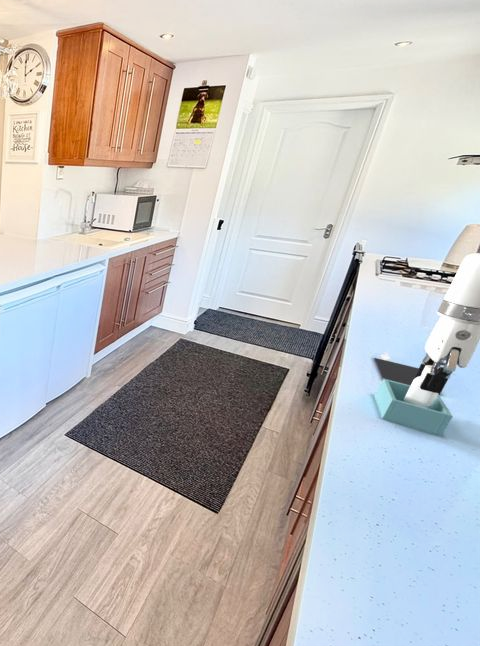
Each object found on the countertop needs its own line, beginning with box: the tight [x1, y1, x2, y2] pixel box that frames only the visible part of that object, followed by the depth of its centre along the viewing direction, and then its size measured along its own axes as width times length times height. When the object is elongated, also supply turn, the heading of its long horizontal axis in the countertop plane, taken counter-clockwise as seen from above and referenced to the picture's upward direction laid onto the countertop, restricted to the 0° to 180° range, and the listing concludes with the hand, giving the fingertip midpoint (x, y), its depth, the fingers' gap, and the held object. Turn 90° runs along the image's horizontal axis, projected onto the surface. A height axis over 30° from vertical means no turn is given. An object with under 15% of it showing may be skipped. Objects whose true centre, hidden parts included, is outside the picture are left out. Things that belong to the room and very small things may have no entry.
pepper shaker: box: [404, 365, 439, 408], centre depth 92 cm, size 4×4×10 cm
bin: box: [373, 379, 453, 437], centre depth 95 cm, size 10×13×5 cm
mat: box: [373, 357, 441, 396], centre depth 115 cm, size 11×17×1 cm, turn 143°
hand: (426, 385), depth 92 cm, fingers closed on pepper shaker, 4 cm apart
